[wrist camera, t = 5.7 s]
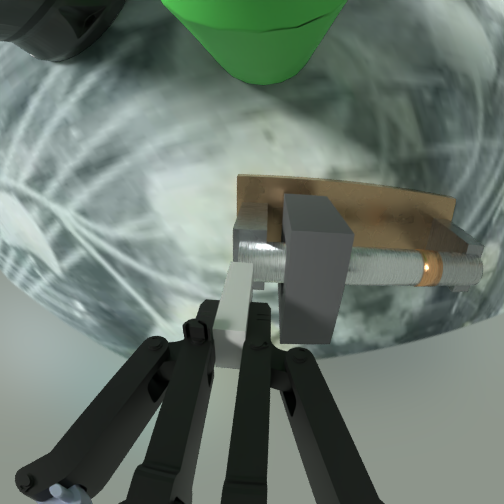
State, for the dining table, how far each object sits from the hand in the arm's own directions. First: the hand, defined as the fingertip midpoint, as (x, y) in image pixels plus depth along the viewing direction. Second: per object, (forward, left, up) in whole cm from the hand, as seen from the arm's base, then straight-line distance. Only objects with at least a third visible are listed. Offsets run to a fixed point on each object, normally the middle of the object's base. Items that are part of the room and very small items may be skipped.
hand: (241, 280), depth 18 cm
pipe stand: (+11, 0, -11) cm, 15 cm away
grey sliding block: (+5, 0, -7) cm, 8 cm away
